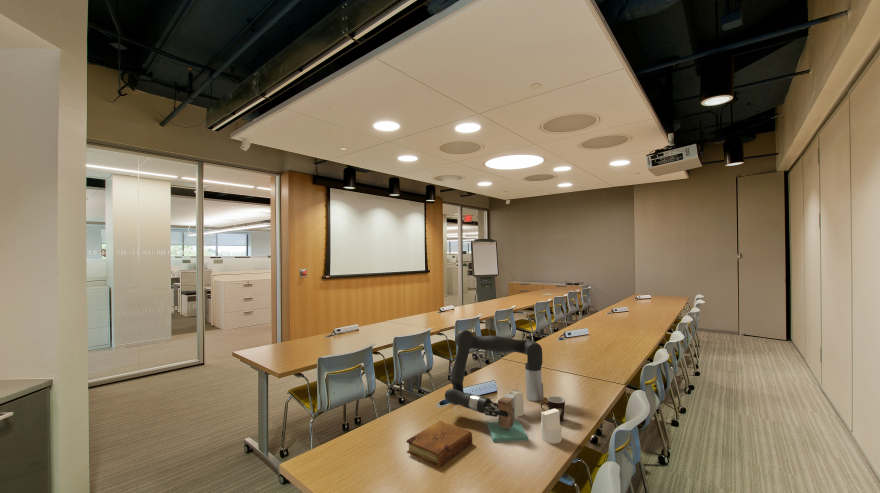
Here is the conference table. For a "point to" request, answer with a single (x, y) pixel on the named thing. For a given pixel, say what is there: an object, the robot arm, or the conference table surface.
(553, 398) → the coffee mug
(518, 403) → the off-white brick
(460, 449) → the diary
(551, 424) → the base with upright slab
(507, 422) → the walnut brick
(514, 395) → the grey brick
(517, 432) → the teal board
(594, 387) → the conference table surface
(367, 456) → the conference table surface
